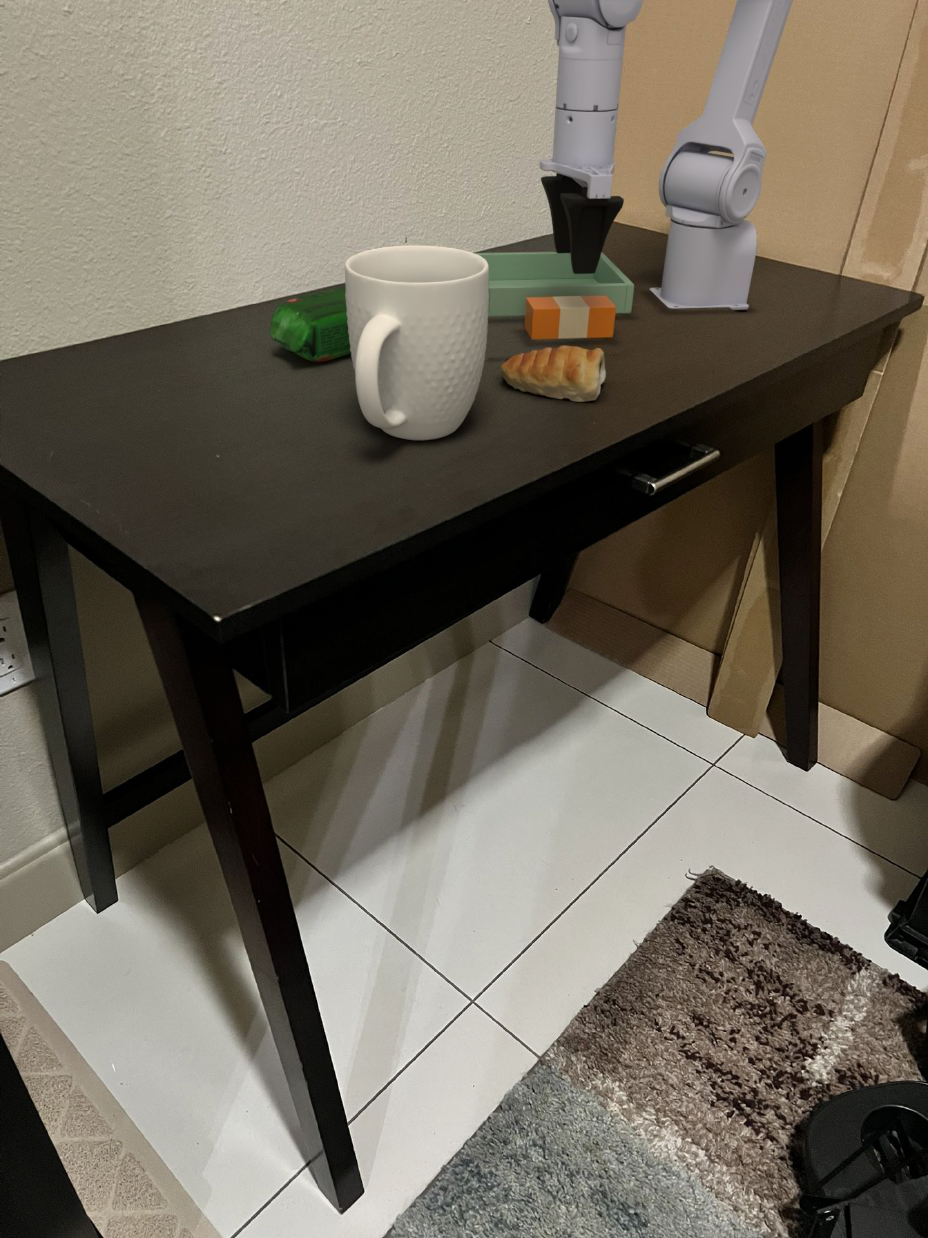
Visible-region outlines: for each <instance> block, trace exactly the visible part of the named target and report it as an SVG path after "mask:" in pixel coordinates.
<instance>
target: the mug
mask: <svg viewBox="0 0 928 1238" xmlns="http://www.w3.org/2000/svg"><path fill="white" fill-rule="evenodd" d="M474 253H475V252H471V251H469V250H464V249H460V248H455V247H448V246H438V245H422V244H421V245H418V244H417V245H415V244H414V245H412V244H411V245H410V244H409V245H408V244H407V245H392V246H384V247H377V248H371V249H367V250H363V251H361V252H357V253H356V254H353V255H351V256H350V257H348V258H347V259H346V260H345V262H344V281H345V282H344V283H345V287H346V294H345V297H346V305H347V306H346V307H347V318H348V320H347V323H348V333H349V341H350V351H351V354H350V357H351V361H352V367H353V370H354V374H355V377H354V378H355V390H356V396H357V400H358V404H359V407H360V410H361V412H362V415H363V417H364V418H365V419H366V421H367V422H368V423H369V424H371V425H372V426H373V427H375V428H379V429H381V430H382V431H383V432H384V433H385V434H388V435H389V436H392V437H394V438H399V439H402V440H408V441H430V440H431V441H432V440H437V439H441V438H444V437H447V436H449V435H451V434H453V433H454V432H455V431H456V430H458V428H459V427H460V426H461V425H462V424H463V422H464V420H465V419H466V417H467V415H468V414H469V411H470V410H471V408H472V406H473V405H474V402H475V399H476V395H477V393H478V391H479V387H480V383H481V379H482V376H483V369H484V366H485V360H486V352H487V343H488V341H487V339H488V337H487V336H488V333H489V332H488V331H489V330H488V326H489V317H488V304H489V302H488V300H489V266H488V263H487V261H486V260H485V259H484V258H483V257H481V256H479V255H477V254H474Z"/></svg>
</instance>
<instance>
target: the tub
mask: <svg viewBox="0 0 928 1238" xmlns="http://www.w3.org/2000/svg"><path fill="white" fill-rule="evenodd" d="M473 253H474V254H477V255H479V256H481V257H483V258H484V259H485V260H486V261H487V263H488V266H489V300H488V302H489V304H488V318H491V317H525V308H526V298H527V297H557V296H607V297H608V298H609V300H610V301H611V302H612V303H613V304H614V305H615V306H616V313H615V314H631V313H632V311H633V310H632V309H633V301H634V292H635V284H634V283H633V282H632V281H631V280H630V279H629V278H628V276H627V275H625V274H624V273H623V272H622V270H620V268H618V266H617V265H616V264H615V263H614V262H613V261H611V259H610V258H608V257H607V256H606V254H605V253H603V252H602V253H601V256H600V260H599V263H598V266H597V268H596V271H595V273H594V274H574V273H573V270H572V265H571V253H557V252H556V251H525V252H524V251H522V252H521V251H520V252H519V251H518V252H473Z"/></svg>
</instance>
